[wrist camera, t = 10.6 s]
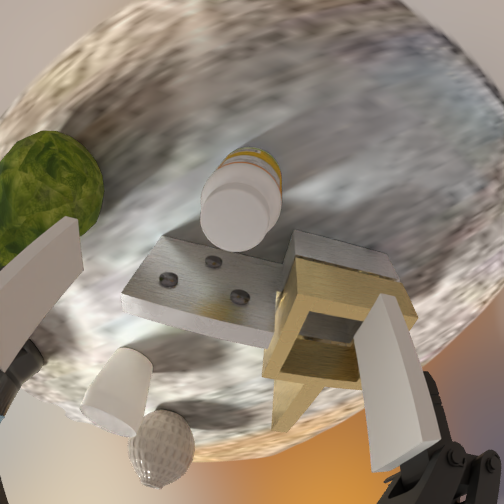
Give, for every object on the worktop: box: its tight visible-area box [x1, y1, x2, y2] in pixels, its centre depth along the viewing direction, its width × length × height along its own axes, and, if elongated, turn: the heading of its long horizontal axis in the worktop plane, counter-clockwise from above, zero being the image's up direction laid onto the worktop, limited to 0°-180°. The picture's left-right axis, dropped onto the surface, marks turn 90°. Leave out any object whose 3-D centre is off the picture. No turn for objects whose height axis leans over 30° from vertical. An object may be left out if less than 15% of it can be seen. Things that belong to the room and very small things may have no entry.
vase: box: [128, 410, 195, 489], centre depth 43 cm, size 13×13×17 cm
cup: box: [80, 348, 153, 437], centre depth 36 cm, size 9×9×12 cm
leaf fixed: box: [121, 229, 400, 349], centre depth 25 cm, size 22×10×10 cm, turn 78°
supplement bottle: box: [200, 147, 282, 252], centre depth 21 cm, size 5×5×10 cm
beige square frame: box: [262, 258, 418, 433], centre depth 29 cm, size 10×22×10 cm, turn 168°
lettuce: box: [0, 131, 104, 268], centre depth 23 cm, size 12×21×11 cm, turn 124°
